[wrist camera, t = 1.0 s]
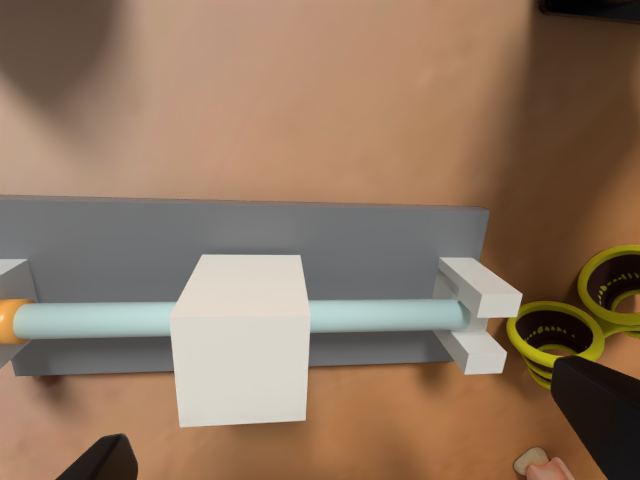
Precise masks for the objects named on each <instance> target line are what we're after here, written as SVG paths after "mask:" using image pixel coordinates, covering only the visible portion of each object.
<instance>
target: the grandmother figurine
mask: <svg viewBox="0 0 640 480" xmlns="http://www.w3.org/2000/svg"><path fill="white" fill-rule="evenodd" d="M548 461H549V460H548V458H547V455H546V453H545V451H544V450H543V449H541V448H539V447H535V448H532V449H529V450H528V451H527V452H525V453H524V454H523V455H522V456H521V457H520V458H518V459H517V460H516V461H515V463H514V466H513V467H514V469H515V470H516V471H517V472H518V473H519V474H521V475H525V476H526V475H527V478H526V480H575V479H574V477H573V475H572V474H571V473H570V471H569V470H568V468H567V467H566V466H565V464H564V463H563V461H562V460H561V459H560V458H558V457H554V458H552V459H551V461H550V462H548Z"/></svg>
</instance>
